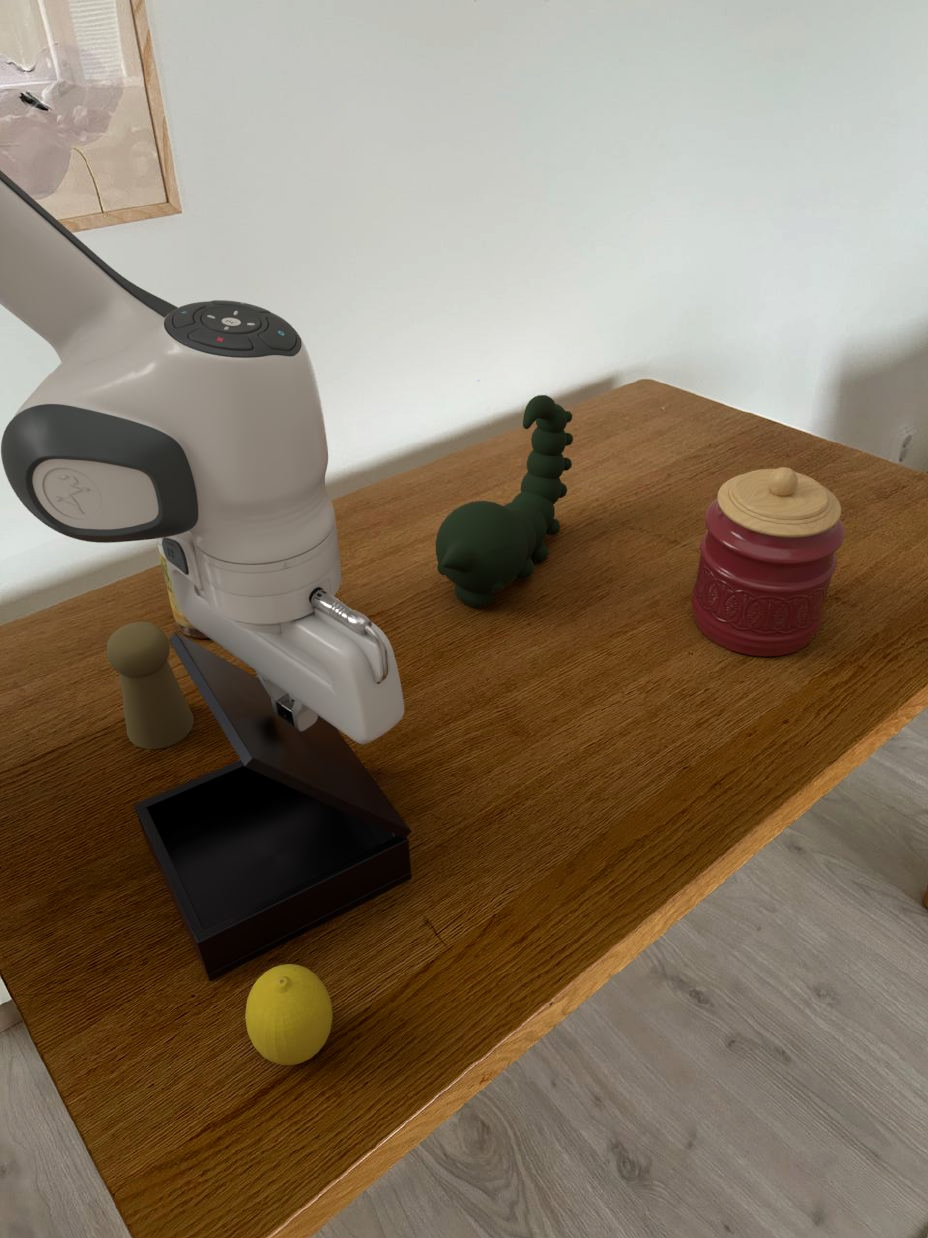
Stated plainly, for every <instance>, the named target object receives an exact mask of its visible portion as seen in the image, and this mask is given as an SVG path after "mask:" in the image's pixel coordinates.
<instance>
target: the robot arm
mask: <svg viewBox="0 0 928 1238" xmlns="http://www.w3.org/2000/svg"><path fill="white" fill-rule="evenodd" d="M0 305H1V306H2V307H4V308H5V309H6V310H7V311H8V312H10V313H11V314H12V315H13V316H15V317H16V318H18V320H19V321H21V322H22V323H24V324H25V325H26V326H27V327H29V328H30V329H31V330H33V332H35V333H36V334H37V335H38V336H40V337H41V338H43V340H45V341H46V342H47V343H48V344H49V345H50V346H51V348H53V350H54V351H55V352H56V355H57V356H58V358H59V360H60V364H59V365H58V366H57V367H56V368H55V369H54V370H53V371H52V372H51V373H49V374H48V375H47V376H46V377H45V378H44V379H43V380H42V382H40V384H39V385H38V386H37V387H36V388H35V390H34V391H32V393H31V394H30V395H29V396H28V397H27V399H26V400H25V401H24V402H23V403H22V405H21V406H20V407H19V408H18V410H17V411H16V412H15V414H14V415H13V417H12V418H11V420H10V421H9V422H8V424H7V426H5V429H4V431H3V434H2V436H1V437H2V438H1V444H0V455H1V456H0V457H1V463H2V466H3V470H4V474H5V476H6V479H7V481H8V483H9V485H10V487H11V489H12V491H13V492H14V494H15V496H16V497H17V498H18V500H19V501H20V502H21V504H22V505H23V506H24V507H25V508H26V509H27V510H28V512H30V513H31V514H32V515H33V516H34V517H35V518H36V519H37V520H39V522H41V523H42V524H44V525H45V526H47V527H48V528H50V529H51V530H53V531H55V532H57V533H59V534H61V535H63V536H66V537H67V538H72V539H74V540H79V541H83V542H87V543H97V544H98V543H100V544H101V543H102V544H109V543H110V544H112V543H113V544H114V543H125V542H127V543H128V542H137V541H147V540H155V543H156V542H157V543H156V547H157V550H158V549H159V550H158V553H159V552H160V554H161V555H162V556H163V557H164V558H165V559H166V560H167V568H168V572H169V576H170V580H171V584H172V587H173V591H174V594H175V597H176V600H177V603H178V606H179V608H180V610H181V612H182V613H183V615H184V616H185V618H186V619H187V621H188V622H189V623H190V624H191V625H192V626H193V627H194V628H196V629H197V630H199V631H200V632H202V633H203V634H204V635H206V636H207V637H208V638H209V639H210V640H212V641H213V642H214V643H216V644H217V645H219V646H220V647H221V648H223V649H224V650H225V651H227V652H229V653H230V654H231V655H233V656H234V657H235V658H237V659H239V660H240V661H241V662H242V663H244V664H245V665H247V666H249V668H251V669H253V670H254V671H255V675H256V677H257V678H259V679H260V681H261V683H262V684H263V686H264V688H265V689H266V691H267V693H268V695H269V696H270V697H271V701H272V706H273V711H274V713H276V714H277V715H279V716H280V717H282V718H283V719H285V720H286V721H287V722H289V723H290V724H291V725H293V726H294V727H295V728H296V729H298V730H299V731H304V730H306V729H307V728H308V727H310V726H311V725H313V724H314V723H315V722H316V721H317V718H318V715H319V716H320V717H322V718H323V719H325V720H326V721H327V722H329V723H330V724H332V725H333V726H334V727H336V728H337V730H338V731H339V732H342V733H343V734H344V735H346V736H347V737H349V738H350V739H351V740H352V741H354V742H355V743H357V744H359V745H367V744H369V743H371V742H373V741H376V740H377V739H378V738H380V737H381V736H383V735H384V734H386V733H388V732H389V731H390V730H392V729H393V728H394V727H395V726H396V725H397V724H399V722H400V721H401V720H402V719H403V717H404V716H405V701H404V694H403V688H402V682H401V676H400V672H399V669H398V668H399V667H398V662H397V658H396V656H395V652H394V649H393V647H392V644H391V642H390V640H389V639H388V637H387V634H385V633H384V631H383V630H382V629H381V628H380V627H378V625H376V624H375V623H374V622H372V621H371V620H370V618H369V617H368V616H367V615H365V614H364V613H362V612H361V611H358V610H356V609H353V608H351V607H350V606H348V605H347V604H345V603H344V602H343V601H341V600H340V598H339V599H338V597H336V594H337V593H338V591H339V589H340V588H341V584H342V580H343V578H342V577H343V573H342V566H341V556H340V546H339V538H338V537H339V536H338V528H337V519H336V512H335V508H334V504H333V502H332V499H331V497H330V495H329V493H328V491H327V486H326V475H327V469H328V464H329V447H328V439H327V432H326V431H327V430H326V425H325V424H326V423H325V418H324V412H323V407H322V406H323V405H322V401H321V395H320V391H319V385H318V382H317V377H316V373H315V370H314V367H313V363H312V360H311V357H310V354H309V352H308V349H307V347H306V345H305V342H304V341H303V339H302V337H301V336H300V334H299V332H297V330H296V329H295V328H294V327H293V326H292V325H291V323H289V322H288V321H287V320H285V319H284V318H283V317H281V316H279V315H278V314H276V313H273V312H271V311H270V310H268V309H266V308H263V307H261V306H257V305H255V304H252V303H251V304H250V303H247V302H241V301H236V300H227V299H225V300H221V299H219V300H218V299H215V300H210V301H207V300H206V301H198V302H192V303H188V304H184V305H181V306H179V307H178V306H176V305H174V304H172V303H171V302H169V301H167V300H165V299H163V298H161V297H158V296H157V295H155V294H153V293H151V292H149V291H148V290H145V289H143V288H141V287H139V286H138V285H136V284H135V283H133V282H131V281H130V280H128V279H127V278H126V277H125V276H123V275H122V274H120V273H119V272H118V271H116V270H115V269H114V268H113V267H112V266H110V265H109V264H108V263H106V262H105V261H104V260H103V259H102V258H101V257H100V256H99V255H97V254H96V253H95V252H94V251H93V250H92V249H90V248H89V247H88V246H87V245H86V244H85V243H84V242H83V241H82V240H80V239H79V237H77V236H76V235H75V234H74V233H72V232H71V231H70V230H69V229H68V228H66V227H65V226H64V224H63V223H61V222H60V221H59V220H58V219H56V218H55V217H54V216H53V215H52V214H51V213H50V212H48V211H47V210H46V209H45V208H44V207H43V206H42V205H41V204H39V203H38V202H37V201H36V200H35V199H34V198H33V197H31V195H29V194H28V193H27V192H26V191H25V190H24V189H22V188H21V186H19V185H18V183H16V182H15V181H14V180H12V179H11V178H10V177H9V176H8V175H7V174H6V173H5V172H3V171H2V169H0Z"/></svg>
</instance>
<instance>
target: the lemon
mask: <svg viewBox="0 0 928 1238" xmlns="http://www.w3.org/2000/svg"><path fill="white" fill-rule="evenodd" d="M246 999H247V1000H246V1006H245V1013H244V1014H245V1015H244V1017H245V1025H246V1031H247V1034H248V1037H249V1039H250V1041H251V1043H252V1045H253V1047H254V1048H255V1049H256V1051H257V1052H258V1053H259V1054H260V1055H261V1056H262V1057H263V1058H265V1059H266V1060H268V1061H270V1062H271V1063H273V1064H277V1065H281V1066H294V1065H298V1064H302V1063H305V1062H306V1061H309V1060H310V1059H312V1058H313V1057H314V1056H315V1055H317V1054H318V1053H319V1052H320V1050H321V1049H322V1048H323V1047H324V1045H325V1044H326V1042H327V1040H328V1038H329V1035H330V1034H331V1029H332V1023H333V1018H334V1017H333V1004H332V1000H331V997H330V995H329V992H328V990H327V988H326V986H325V983H323V982H322V980H321V979H320V978H319V976H318V975H317V974H316V973H315V972H313V971H311V970H310V969H309V968H307V967H305V966H302V965H299V964H294V963H293V964H292V963H287V964H280V965H277V966H274V967H272V968H269V969H268V970H267V971H265V972H264V973H262V975H260V977H258V978H257V980H255V982H254V984H253V986H252V987H251V988H250V991H249V994H248V996H247V998H246Z"/></svg>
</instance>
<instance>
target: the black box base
mask: <svg viewBox="0 0 928 1238" xmlns="http://www.w3.org/2000/svg"><path fill="white" fill-rule="evenodd" d="M133 807H134V811H135V813H136V817H137V820H138V822H139V825H140V829H141V831H142V834H143V836H144V837H143V838H144V839H145V843H146V845H147V847H148V850H149V852H150V854H151V856H152V858H153V860H154V862H155V865H156V867H157V870H158V872H159V873H160V874H159V875H160V876H161V879H162V880H163V882H164V885H165V887H166V889H167V892H168V893H169V895H170V898H171V900H172V902H173V904H174V907H175V909H176V910H177V913H178V915H179V918H180V920H181V922H182V924H183V926H184V929H185V931H186V933H187V936H188V938H189V940H190V942H191V945H192V946H193V948H194V951H195V953H196V956H197V957H198V960H199V962H200V964H201V966H202V968H203V970H204V973H205V975H206V977H207V979H208V981H209V982H211V981H213V980H215V979H217V978H219V977H221V976H223V975H225V974H227V973H229V972H231V971H233V970H236V969H237V968H239V967H241V966H243V965H245V964H247V963H248V962H251V961H252V960H255V959H257V958H258V957H260V956H263V955H265V954H266V953H268V952H270V951H272V950H274V949H276V948H278V947H280V946H282V945H284V944H286V943H288V942H290V941H292V940H293V939H296V938H298V937H300V936H302V935H303V934H306V933H308V932H310V931H311V930H313V929H315V928H318V927H319V926H321V925H323V924H325V923H327V922H329V921H331V920H333V919H336V918H337V917H339V916H340V915H343V914H345V913H347V912H350V911H351V910H352V909H354V908H355V909H356V908H357V907H358V906H360V905H362V904H364V903H366V902H368V901H370V900H372V899H373V898H376V897H379V896H380V895H382V894H384V893H387V892H388V891H390V890H392V889H394V888H395V887H398V886H400V885H402V884H403V883H405V882H407V881H409V880H411V879H412V866H411V853H410V852H411V851H410V841H409V838H408V836H407V837H406V838H405V839H404V838H402V837H400V836H397V835H395V834H393V833H391V832H388V831H386V830H384V829H382V828H380V827H377V826H375V825H373V824H371V823H368V822H366V821H364V820H362V819H360V818H357V817H355V816H353V815H351V814H348V813H346V812H344V811H342V810H340V809H337V808H335V807H333V806H331V805H328V804H326V803H324V802H322V801H320V800H317V799H315V798H313V797H311V796H308V795H306V794H304V793H302V792H300V791H297V790H295V789H293V788H291V787H288V786H286V785H284V784H282V783H280V782H277V781H275V780H273V779H271V778H268V777H266V776H264V775H262V774H260V773H257V772H255V771H253V770H251V769H248V768H246V767H244V765H243V763H242V762H241V760H240V759H238V760H236V761H234V762H232V763H229V764H227V765H224V766H222V767H220V768H217V769H215V770H213V771H211V772H207V773H205V774H202V775H201V776H199V777H196V778H194V779H191V780H189V781H187V782H184V783H182V784H178V785H177V786H175V787H172V788H170V789H168V790H165V791H163V792H160V793H158V794H156V795H153V796H151V797H149V798H146V799H143V800H141V801H139V802H136V803H134V804H133Z"/></svg>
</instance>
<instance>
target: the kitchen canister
mask: <svg viewBox="0 0 928 1238" xmlns="http://www.w3.org/2000/svg"><path fill="white" fill-rule="evenodd" d="M841 515H842V506H841V503H840V501H839V500H838V498H837V497H836V495H835V494H834V493H832V491H830V490H829V489H828V488H827V487H825V486H823V484H821V483H820V482H819V481H817V480H815V478H814V479H813V478H812V477H810V476H808V475H805V474H803V473H800V472H797V471H795V470H794V469H792V468H789V467H785V466H781V467H777V468H761V469H756V470H752V471H749V472H746V473H742V474H739V475H736V476H734V477H732V478H730V479H728V480H726V481H725V482H724V483H723V484H722V485H721V487H719V490H718V492H717V497H716V498H715V499H714V500H713V501H712V502H711V503H710V504H709V505H708V507H707V508H706V511H705V514H704V523H705V526H706V529H707V530H706V531H705V532H704V533H703V535H702V537H701V539H700V546H699V548H700V549H699V550H700V556H699V561H698V568H697V574H696V580H695V583H694V586H693V588H692V595H691V608H692V617H693V620H694V623H695V624H696V626H697V628H698V629H699V630H700V631H701V632H702V633H703V634H704V635H705V636H706V637H707V638H708V639H710V640H711V641H713V642H714V643H716V644H718V646H721V647H724V649H725V648H726V649H727V650H729V651H733V652H736V653H739V654H744V655H748V656H754V657H755V656H756V657H780V656H784V655H789V654H792V653H795V652H798V651H799V650H802V649H803V648H805V647H806V646H807V645H809V643H811V642H812V640H813V639H814V637H815V636H816V633H817V632H818V631H819V629H820V627H821V625H822V620H823V619H824V618H823V617H824V614H825V613H824V611H825V608H824V606H825V603H826V598H827V596H828V592H829V588H830V585H831V580H832V577H833V575H834V573H835V572H836V569H837V567H838V558H837V553H836V552H837V551H838V550H839V549H840V548H841V546H842V545H843V542H844V540H845V536H846V531H845V526H844V524H843V522H842V519H840V518H841Z"/></svg>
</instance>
